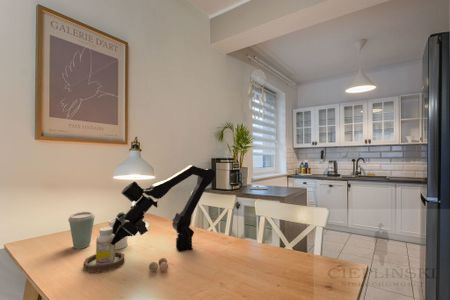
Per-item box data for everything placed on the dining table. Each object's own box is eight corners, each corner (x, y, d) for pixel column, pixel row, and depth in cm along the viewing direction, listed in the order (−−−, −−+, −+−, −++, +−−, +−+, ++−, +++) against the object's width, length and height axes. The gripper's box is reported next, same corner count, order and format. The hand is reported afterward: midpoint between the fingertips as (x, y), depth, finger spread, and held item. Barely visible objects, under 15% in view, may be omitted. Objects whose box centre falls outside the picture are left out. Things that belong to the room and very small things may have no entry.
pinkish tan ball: (167, 268, 88) (167, 260, 88) (168, 272, 85) (168, 263, 85) (158, 270, 87) (158, 261, 87) (159, 274, 84) (159, 265, 84)
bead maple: (157, 268, 88) (157, 259, 88) (158, 272, 85) (158, 263, 85) (148, 269, 87) (148, 261, 87) (148, 273, 84) (149, 264, 84)
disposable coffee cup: (92, 248, 107) (93, 215, 107) (64, 252, 103) (65, 217, 103) (95, 241, 117) (96, 210, 117) (70, 243, 113) (71, 212, 113)
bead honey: (166, 264, 92) (166, 256, 92) (167, 267, 89) (167, 259, 89) (158, 265, 91) (158, 257, 91) (158, 269, 88) (158, 260, 88)
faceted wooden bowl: (125, 254, 100) (125, 249, 101) (123, 269, 87) (123, 263, 87) (88, 259, 96) (88, 253, 96) (79, 275, 83) (79, 269, 83)
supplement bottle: (106, 257, 96) (107, 225, 96) (118, 260, 93) (119, 227, 94) (91, 264, 90) (92, 229, 90) (104, 267, 87) (104, 232, 87)
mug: (111, 253, 102) (111, 225, 102) (97, 250, 105) (97, 223, 106) (131, 244, 113) (132, 218, 113) (118, 241, 116) (119, 217, 117)
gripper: (159, 226, 93) (129, 260, 87) (148, 216, 109) (122, 244, 104) (138, 208, 90) (106, 243, 84) (130, 200, 106) (102, 229, 100)
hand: (110, 240), depth 93 cm, fingers open, 9 cm apart
